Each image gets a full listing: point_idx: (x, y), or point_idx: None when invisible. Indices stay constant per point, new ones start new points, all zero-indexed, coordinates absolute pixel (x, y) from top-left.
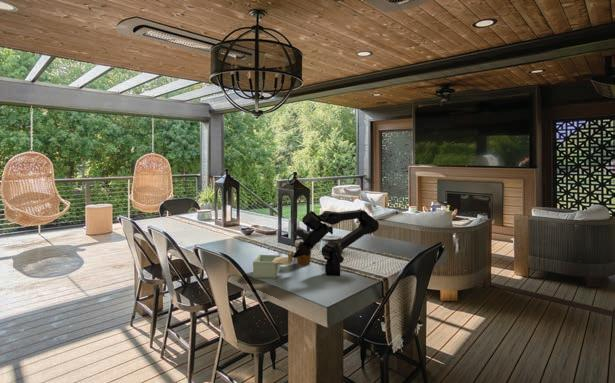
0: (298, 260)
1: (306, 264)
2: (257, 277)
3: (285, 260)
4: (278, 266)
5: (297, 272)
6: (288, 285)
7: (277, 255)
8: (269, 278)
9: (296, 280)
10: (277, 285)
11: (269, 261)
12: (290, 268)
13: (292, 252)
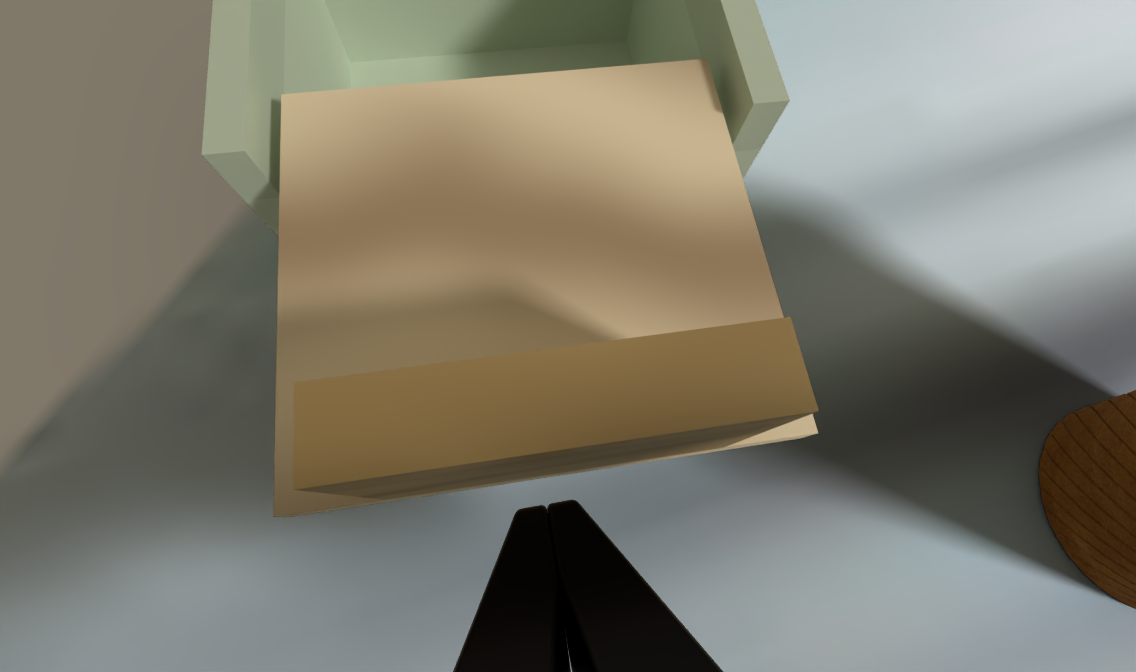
0: (1112, 429)
1: (1108, 582)
2: None
3: (514, 318)
4: None
5: (702, 536)
6: (55, 596)
7: (751, 65)
8: None
9: (309, 652)
10: (59, 427)
11: (673, 43)
12: (841, 369)
13: (716, 428)
